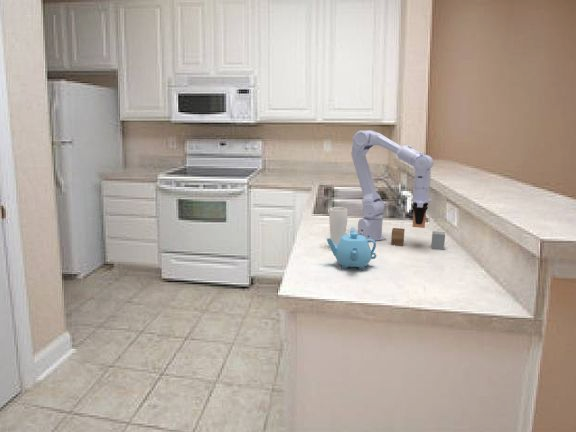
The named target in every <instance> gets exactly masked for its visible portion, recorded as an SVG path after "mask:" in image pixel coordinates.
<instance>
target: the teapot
mask: <svg viewBox="0 0 576 432" xmlns="http://www.w3.org/2000/svg"><path fill="white" fill-rule="evenodd" d="M326 241H327V244H328V246H329V248H330V250H331V252H332V254H333V256H334V257H335V259H336V261H337V263H338V264H339V265H341V269H342V270H347V269H349V267H355V268H356V267H357V269H358V270H361V271H363V270H366V268H365V267H366V266H367V265H369V263H370V262H371V260H375V259H376V258H377V253H376V252H375V249H376V248H377V241H374V240H372V239H366V238H365V237H364V236H362V235H358V232H356V231H355V228H354V227H350V233H349V234H345V235H343V236H342V237H341V239H340V241H339V243H338V245H337V246H336V245H335V244H334V242H333V241H332V239H331V238H330V237H329V238H326ZM368 241H370V242H371V243H373V246H372V249H371V247H370V245H369V242H368Z"/></svg>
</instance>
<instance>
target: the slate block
mask: <svg viewBox="0 0 576 432" xmlns="http://www.w3.org/2000/svg"><path fill="white" fill-rule="evenodd" d="M431 234H432V235H431V245H430V246H431V247H430V248H431V250H437V251H438V250H440V251H445V242H446V241H445V240H446V231H436V230H432V232H431Z"/></svg>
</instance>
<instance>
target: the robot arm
mask: <svg viewBox="0 0 576 432" xmlns="http://www.w3.org/2000/svg"><path fill="white" fill-rule="evenodd" d="M351 139H352V141H351V142H352V147H351V152H350V153H351V155H350V156H351V158H352V162H353V166H354V168H355V171H356V172H355V173H356V175H357V179H358V181H359V185H360V189H361V192H362V195H363V197H362V200H361V201H362V202H361V203H362V214H363V215H364V217H363V218H360V219H359V220H358V223H357V233H358V235H362V236H364V237H365V238H366V239H372V240H374V241H375V242H377V241H383V240H384V241H385V240H387V238H386V237H384V236H382V235H383V219H384V218H383V216H384V215H383V213H384V212H386V204H385V202H384V201H383V200H382V197H381V195H380V194H379V193H378V192H377V189H376V186H375V183H374V179H373V177H372V172H371V170H370V169H371V168H370V167H369V163H368V159H367V156H366V155H367V154H368V152H369V151H370V149H371V148H372V147H374V146H380V147H383V148H385V149H386V150H388V151H390V152H393V153H395V154H396V155H397V159H398V160H401V161H402V162H404V163H406V164H408V165H410V166H411V167H413V168H414V181H413V192H412V193H413V194H412V199H411V201H412V202H413V203H412V205H411V207H412V210H413V212H414V213H415V221H416V224H422V222H423V218H424V214H425V212H426V213H427V210H428V205H429V202H431V203H432V202H433V199H431V198H430V187H431V177H432V176H431V172H432V168H433V166H434V160H433V158H432V156H430V155H429V154H424V152H422V151H418V150H416V149H414V148H413V146H412V145H410V144H409V145H407V144H405V145H400V144H398V143H397V142H395V141H394V140H392V139H389V138H388V137H387V136H385V135H383V134H382V133H380V132H377V131H374V130H372V129H368V130H358V131H357V132H356V133H355V134H354V135H353V137H352V138H351ZM369 242H371V241H368V243H369Z"/></svg>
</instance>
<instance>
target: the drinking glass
mask: <svg viewBox="0 0 576 432" xmlns="http://www.w3.org/2000/svg"><path fill="white" fill-rule="evenodd" d="M348 217H349V215H348V208H346V207H341V206H336V207H330V208H329V221H328V222H329V235H330V236H329V238H331V239H332V241H333V242H334V244H335V245H336V246H337V245H338V243H339V241H340V239H341V237H342V236H343V235H347V233H346V232H347V225H348Z"/></svg>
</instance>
